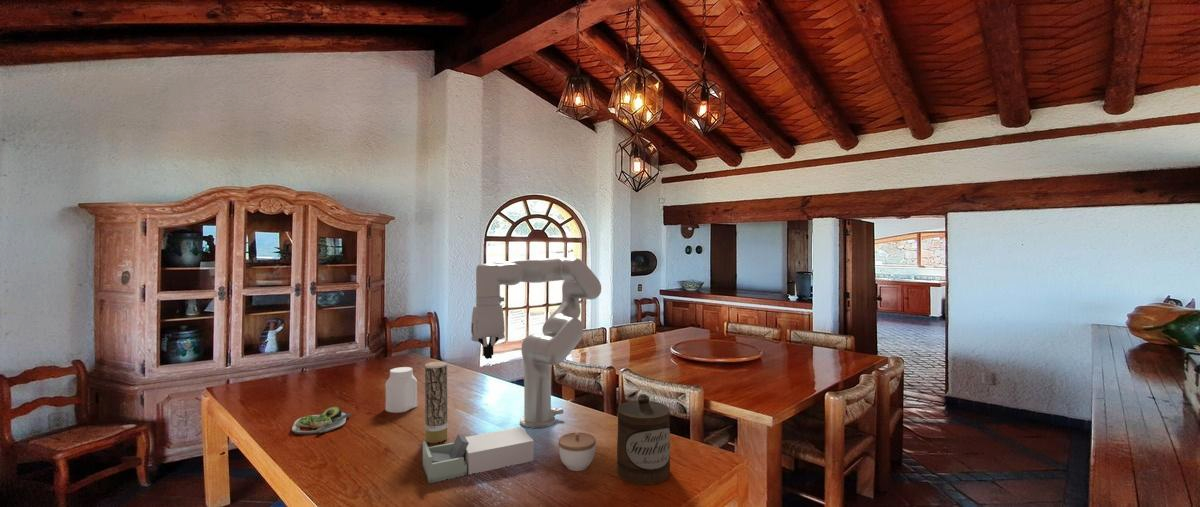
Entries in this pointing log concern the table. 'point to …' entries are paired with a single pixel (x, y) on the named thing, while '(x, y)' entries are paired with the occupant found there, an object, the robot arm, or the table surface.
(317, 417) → the avocado toast plate
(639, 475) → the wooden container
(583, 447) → the lidded jar
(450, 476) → the box
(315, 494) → the table surface
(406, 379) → the jar
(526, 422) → the robot arm
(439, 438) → the bark-textured canister
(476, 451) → the white rectangular block
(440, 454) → the slate tile front
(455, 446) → the slate tile back
